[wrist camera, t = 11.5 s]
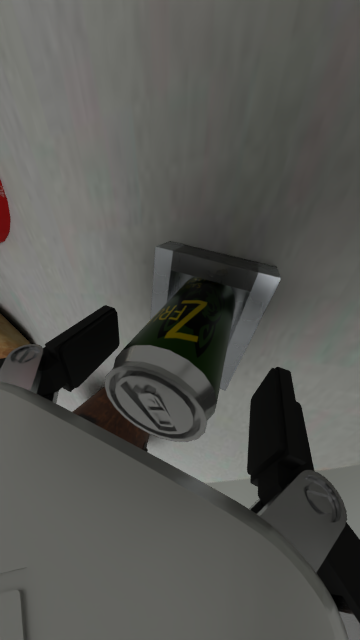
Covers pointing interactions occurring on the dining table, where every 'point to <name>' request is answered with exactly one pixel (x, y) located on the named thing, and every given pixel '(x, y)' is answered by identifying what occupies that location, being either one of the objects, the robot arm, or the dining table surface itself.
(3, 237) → the kitchen timer
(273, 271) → the grey tray
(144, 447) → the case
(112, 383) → the beer can
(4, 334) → the bread roll
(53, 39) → the dining table surface
